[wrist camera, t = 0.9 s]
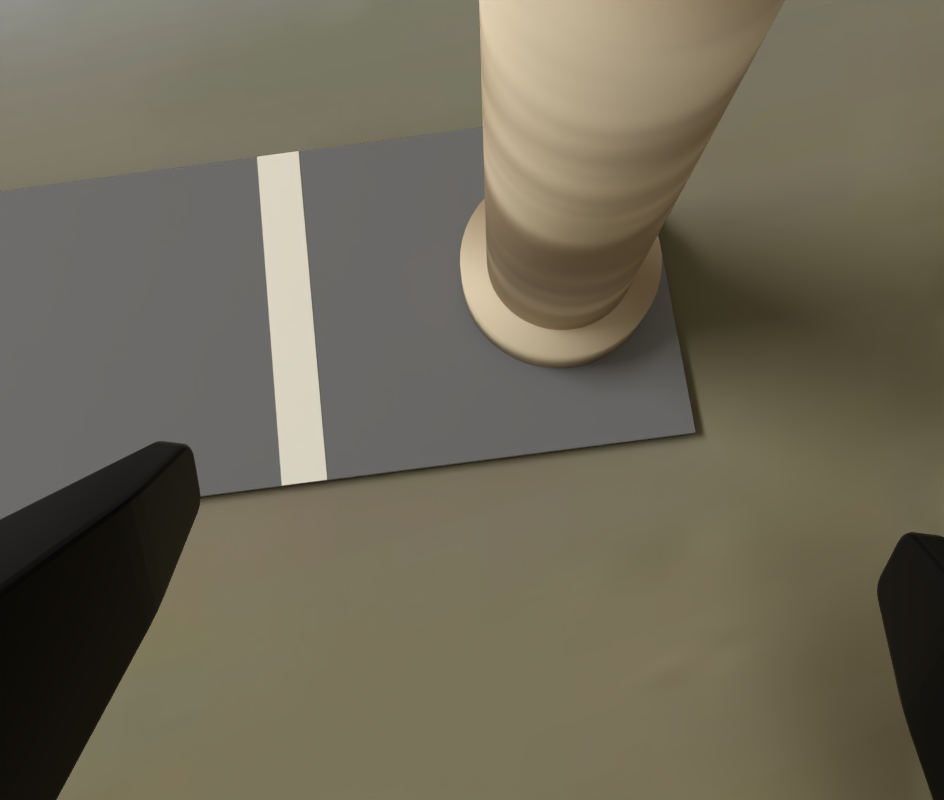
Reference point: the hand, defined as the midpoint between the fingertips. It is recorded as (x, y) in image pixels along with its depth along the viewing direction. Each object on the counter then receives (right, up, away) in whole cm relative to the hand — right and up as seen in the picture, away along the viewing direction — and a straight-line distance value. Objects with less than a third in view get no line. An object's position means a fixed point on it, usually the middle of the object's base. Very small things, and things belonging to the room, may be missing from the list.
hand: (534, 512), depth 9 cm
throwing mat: (-7, +4, +14) cm, 16 cm away
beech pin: (+2, +5, +14) cm, 15 cm away
